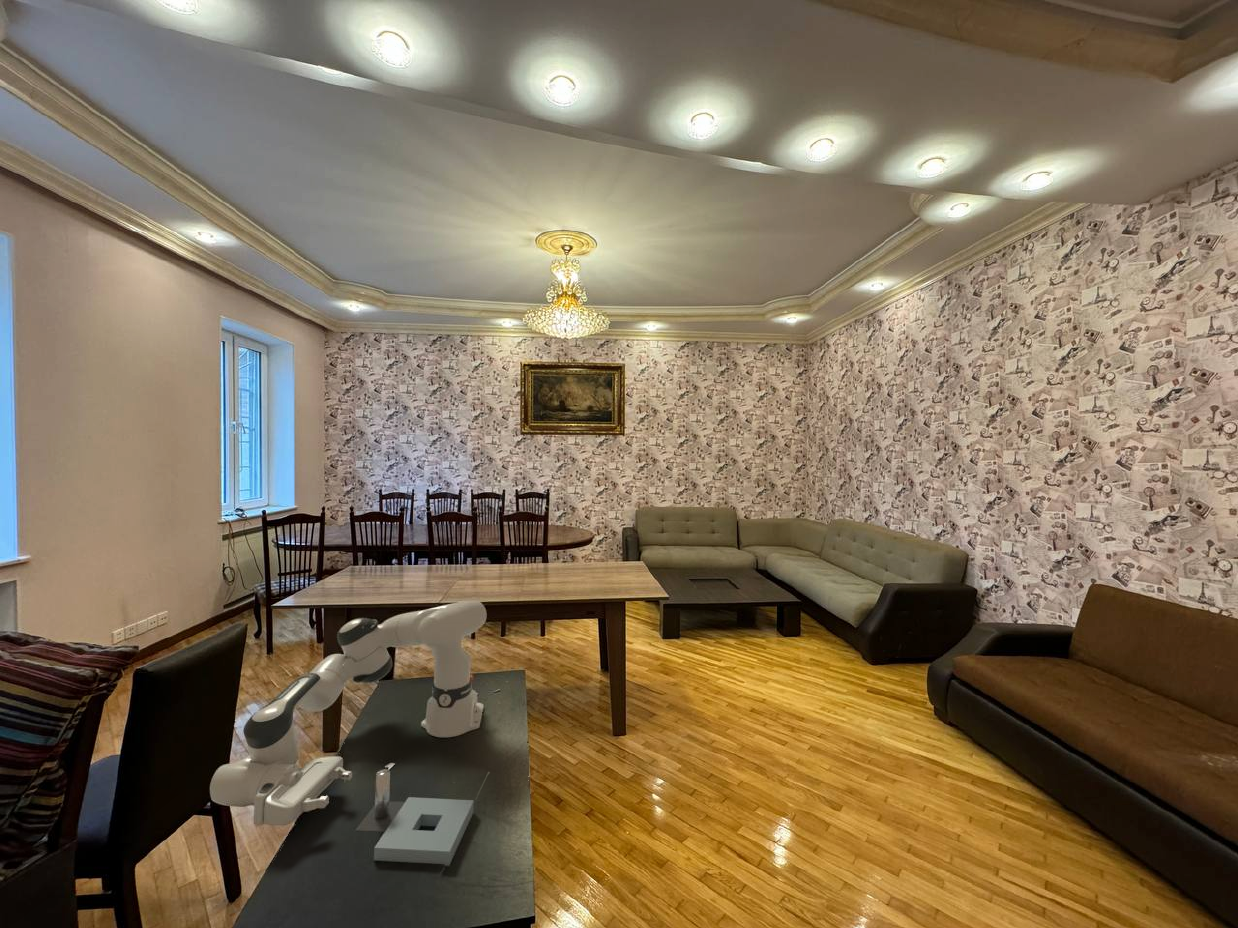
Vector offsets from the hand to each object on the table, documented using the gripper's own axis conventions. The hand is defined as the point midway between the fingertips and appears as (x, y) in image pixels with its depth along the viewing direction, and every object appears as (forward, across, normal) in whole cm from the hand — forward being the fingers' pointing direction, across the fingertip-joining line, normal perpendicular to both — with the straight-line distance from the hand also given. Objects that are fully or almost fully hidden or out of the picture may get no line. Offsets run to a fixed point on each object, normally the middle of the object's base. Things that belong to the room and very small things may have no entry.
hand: (339, 788), depth 116 cm
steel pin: (+10, 0, -6) cm, 12 cm away
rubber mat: (+10, 0, -6) cm, 12 cm away
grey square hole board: (+23, +5, -6) cm, 25 cm away
